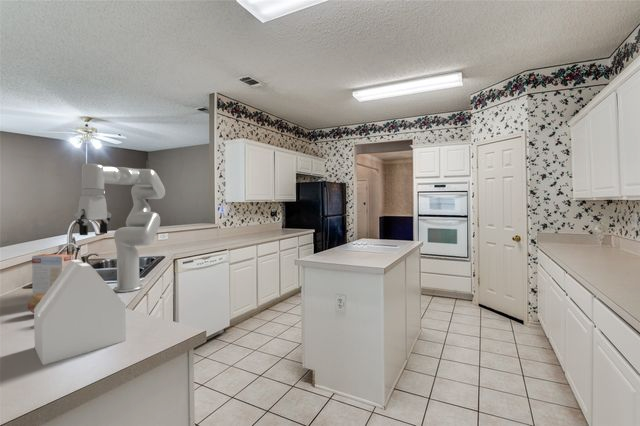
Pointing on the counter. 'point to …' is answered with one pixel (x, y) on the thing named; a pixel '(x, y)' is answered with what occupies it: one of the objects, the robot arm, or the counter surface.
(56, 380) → the counter surface
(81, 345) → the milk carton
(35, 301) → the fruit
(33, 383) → the counter surface
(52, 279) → the cracker box
